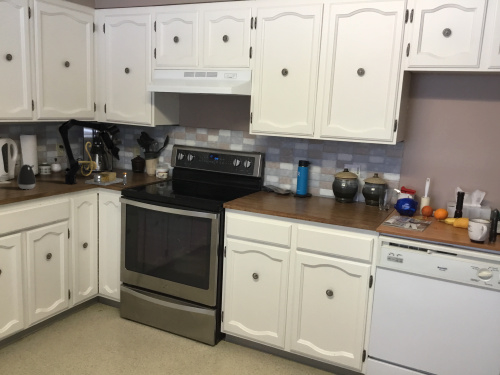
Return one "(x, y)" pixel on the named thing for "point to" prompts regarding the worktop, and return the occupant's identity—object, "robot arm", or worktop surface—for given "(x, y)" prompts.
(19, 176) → the pump dispenser
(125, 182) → the lever with copper knob
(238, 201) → the worktop surface
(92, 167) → the wall sconce
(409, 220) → the worktop surface
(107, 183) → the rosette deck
